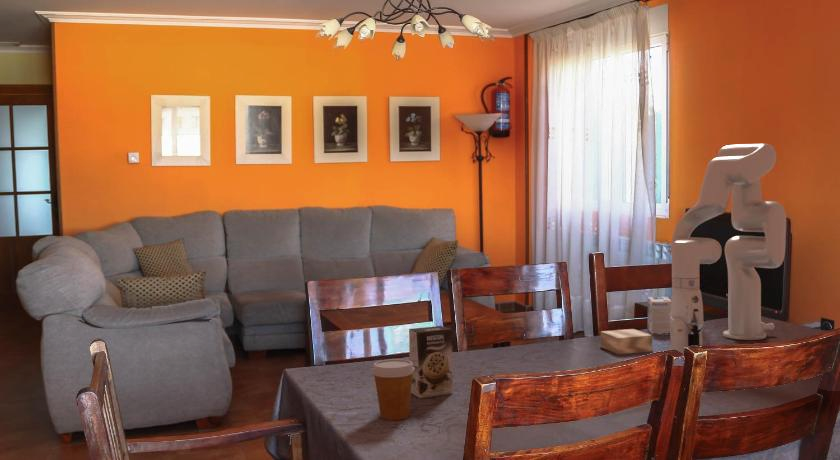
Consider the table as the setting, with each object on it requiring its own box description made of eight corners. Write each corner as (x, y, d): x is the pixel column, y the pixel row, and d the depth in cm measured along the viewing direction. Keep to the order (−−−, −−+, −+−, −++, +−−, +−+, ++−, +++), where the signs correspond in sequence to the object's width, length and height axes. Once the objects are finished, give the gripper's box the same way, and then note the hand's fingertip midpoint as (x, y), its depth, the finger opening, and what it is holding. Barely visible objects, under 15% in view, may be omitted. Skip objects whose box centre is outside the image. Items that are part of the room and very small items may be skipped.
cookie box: (419, 398, 203) (417, 332, 202) (409, 392, 209) (407, 328, 207) (454, 393, 206) (452, 328, 205) (442, 388, 212) (441, 324, 211)
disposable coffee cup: (376, 410, 194) (375, 358, 193) (417, 410, 193) (416, 358, 192) (370, 422, 184) (368, 368, 184) (413, 422, 184) (412, 368, 183)
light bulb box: (647, 328, 282) (646, 296, 282) (667, 328, 281) (667, 296, 281) (651, 334, 272) (651, 301, 271) (673, 334, 271) (672, 301, 270)
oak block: (633, 344, 258) (633, 328, 258) (652, 352, 248) (652, 335, 247) (600, 347, 256) (600, 331, 255) (618, 355, 245) (618, 338, 245)
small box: (698, 352, 244) (698, 316, 244) (702, 356, 239) (702, 319, 238) (669, 352, 245) (669, 316, 244) (673, 356, 240) (673, 319, 239)
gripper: (715, 286, 233) (715, 350, 234) (680, 279, 250) (681, 338, 251) (691, 288, 231) (691, 352, 233) (657, 280, 248) (658, 340, 249)
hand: (686, 344), depth 242 cm, fingers closed on small box, 7 cm apart
